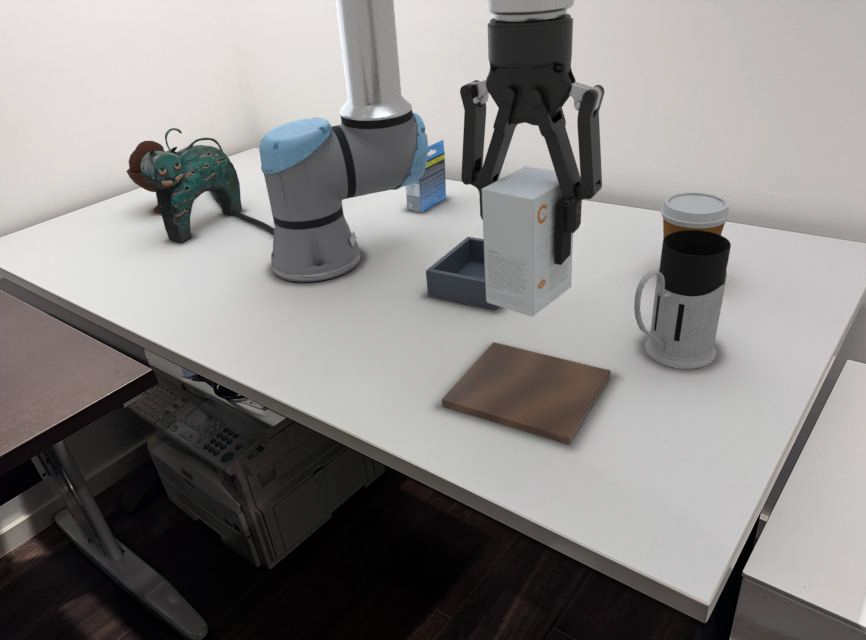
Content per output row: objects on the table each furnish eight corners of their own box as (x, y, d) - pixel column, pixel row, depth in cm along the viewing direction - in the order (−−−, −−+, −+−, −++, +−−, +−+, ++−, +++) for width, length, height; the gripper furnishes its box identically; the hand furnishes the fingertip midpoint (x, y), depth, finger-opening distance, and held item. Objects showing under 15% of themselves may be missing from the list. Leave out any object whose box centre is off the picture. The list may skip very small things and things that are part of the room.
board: (441, 406, 80) (441, 399, 79) (493, 348, 90) (493, 341, 89) (569, 444, 73) (569, 437, 72) (610, 376, 83) (610, 370, 82)
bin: (427, 295, 104) (425, 270, 101) (468, 260, 113) (467, 236, 111) (495, 310, 98) (494, 284, 96) (532, 272, 108) (532, 247, 106)
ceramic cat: (178, 247, 127) (146, 141, 116) (155, 242, 130) (122, 138, 119) (251, 210, 141) (228, 112, 130) (228, 207, 144) (204, 111, 133)
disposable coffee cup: (722, 292, 98) (737, 215, 91) (654, 290, 100) (664, 214, 93) (713, 264, 106) (726, 191, 99) (650, 262, 108) (659, 190, 101)
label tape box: (432, 196, 141) (427, 136, 134) (448, 198, 139) (444, 139, 132) (406, 210, 135) (400, 149, 128) (422, 213, 133) (417, 151, 126)
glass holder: (730, 351, 85) (752, 242, 77) (657, 395, 79) (672, 281, 71) (673, 325, 92) (688, 221, 83) (601, 363, 85) (609, 256, 77)
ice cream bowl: (203, 203, 147) (184, 134, 139) (161, 221, 139) (139, 149, 131) (171, 197, 152) (152, 130, 144) (130, 214, 144) (106, 144, 136)
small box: (524, 274, 78) (525, 164, 71) (572, 288, 75) (578, 173, 68) (483, 302, 73) (479, 187, 66) (532, 318, 70) (534, 198, 63)
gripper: (412, 21, 61) (431, 253, 73) (628, 19, 52) (608, 284, 64) (452, 9, 66) (463, 227, 78) (655, 6, 57) (631, 254, 69)
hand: (528, 253), depth 71 cm, fingers closed on small box, 7 cm apart
